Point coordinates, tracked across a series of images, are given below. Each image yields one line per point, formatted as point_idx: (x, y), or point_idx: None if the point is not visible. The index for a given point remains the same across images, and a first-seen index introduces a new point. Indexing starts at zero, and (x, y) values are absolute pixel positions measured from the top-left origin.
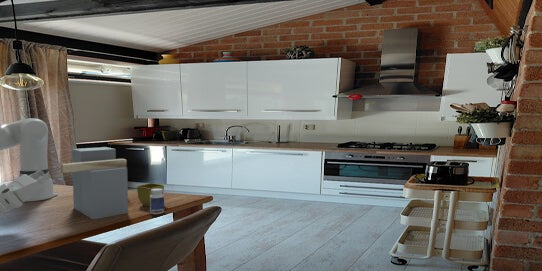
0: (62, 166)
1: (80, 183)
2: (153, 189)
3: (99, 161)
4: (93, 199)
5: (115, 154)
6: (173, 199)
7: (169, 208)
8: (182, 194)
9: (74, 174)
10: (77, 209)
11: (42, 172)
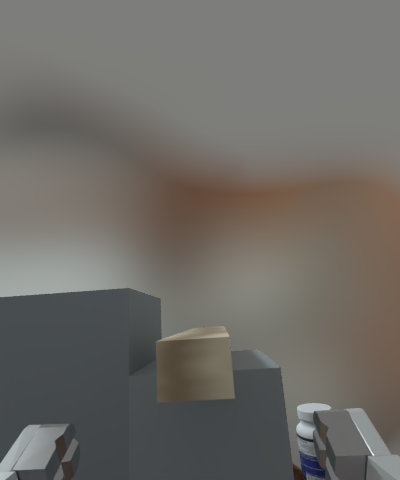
0: (201, 353)
1: (106, 474)
2: (308, 410)
3: (213, 329)
4: None
5: (160, 317)
6: None
7: (293, 465)
8: None
9: (8, 436)
10: None
11: (68, 449)
